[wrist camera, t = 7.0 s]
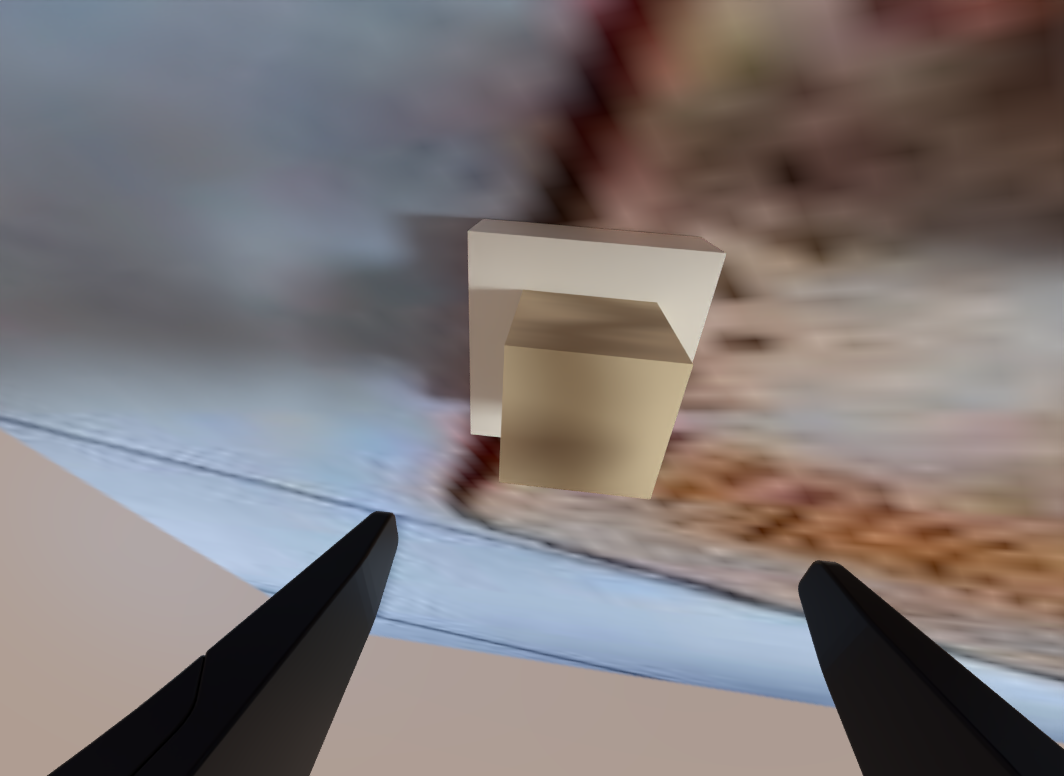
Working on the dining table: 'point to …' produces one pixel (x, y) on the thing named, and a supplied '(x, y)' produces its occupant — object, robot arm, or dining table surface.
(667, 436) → the maple cube
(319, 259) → the dining table surface
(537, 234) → the ceramic trivet
